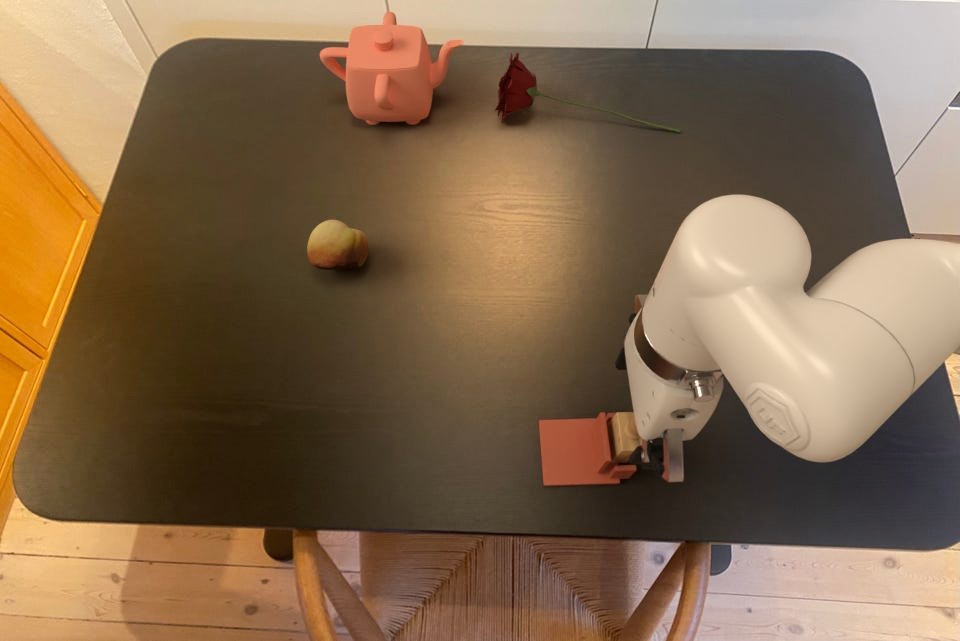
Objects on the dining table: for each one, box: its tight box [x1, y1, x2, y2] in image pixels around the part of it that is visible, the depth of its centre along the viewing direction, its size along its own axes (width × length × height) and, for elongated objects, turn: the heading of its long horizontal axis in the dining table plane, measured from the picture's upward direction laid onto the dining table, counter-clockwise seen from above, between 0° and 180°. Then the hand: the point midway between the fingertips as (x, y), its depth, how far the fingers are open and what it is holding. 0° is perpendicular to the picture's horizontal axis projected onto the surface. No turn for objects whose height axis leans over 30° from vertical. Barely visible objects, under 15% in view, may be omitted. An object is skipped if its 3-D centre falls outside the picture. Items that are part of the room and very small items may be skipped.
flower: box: [494, 51, 682, 133], centre depth 96 cm, size 11×10×30 cm
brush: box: [607, 411, 642, 464], centre depth 64 cm, size 15×4×3 cm
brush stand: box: [538, 411, 637, 487], centre depth 71 cm, size 10×8×7 cm
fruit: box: [306, 219, 369, 272], centre depth 82 cm, size 8×8×8 cm
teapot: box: [319, 11, 465, 126], centre depth 94 cm, size 17×16×13 cm
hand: (637, 411), depth 59 cm, fingers open, 9 cm apart
